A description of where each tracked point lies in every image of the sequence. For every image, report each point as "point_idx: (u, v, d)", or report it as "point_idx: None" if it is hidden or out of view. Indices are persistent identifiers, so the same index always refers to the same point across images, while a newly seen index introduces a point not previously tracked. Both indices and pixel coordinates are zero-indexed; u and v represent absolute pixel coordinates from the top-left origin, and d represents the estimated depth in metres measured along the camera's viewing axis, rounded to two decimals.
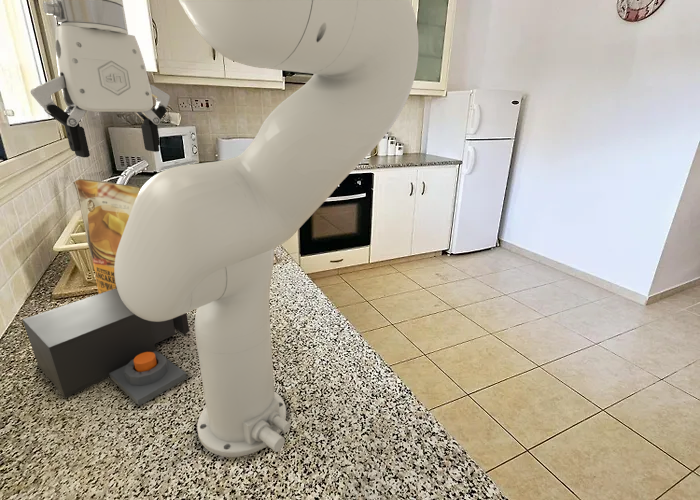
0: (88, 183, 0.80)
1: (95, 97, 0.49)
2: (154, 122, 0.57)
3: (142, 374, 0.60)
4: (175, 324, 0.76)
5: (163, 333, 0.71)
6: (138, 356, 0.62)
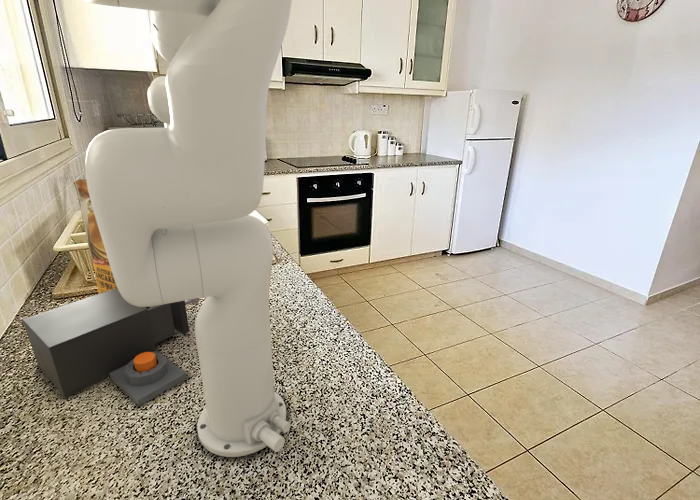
0: None
1: None
2: None
3: (142, 374, 0.60)
4: (175, 324, 0.76)
5: (163, 333, 0.71)
6: (138, 356, 0.62)
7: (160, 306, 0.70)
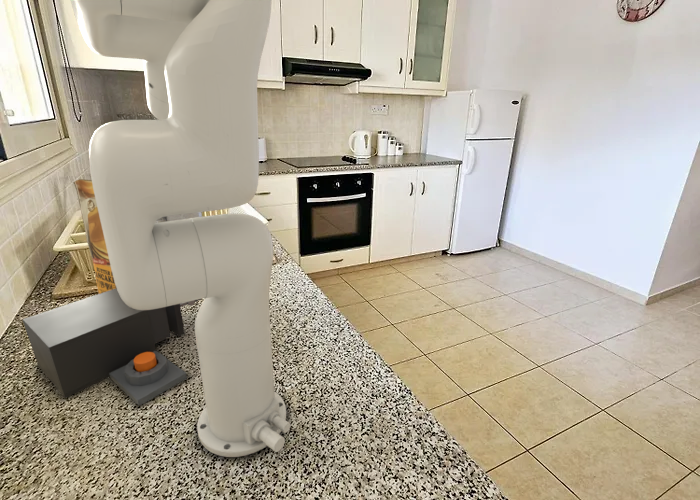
0: (88, 183, 0.80)
1: None
2: None
3: (142, 374, 0.60)
4: (170, 326, 0.75)
5: (158, 335, 0.71)
6: (138, 356, 0.62)
7: None
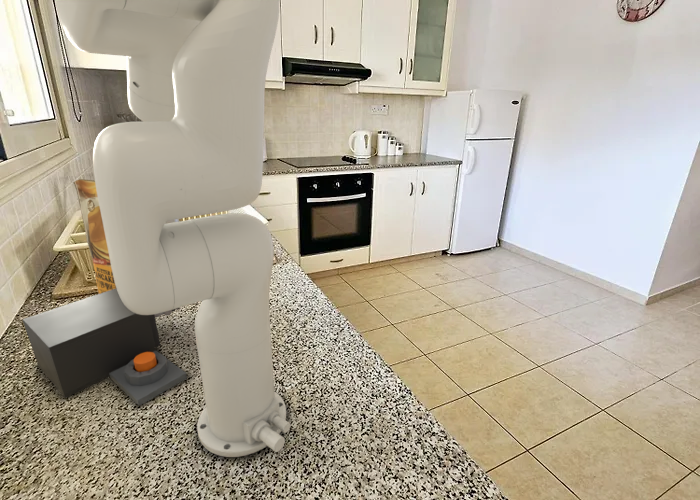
0: (88, 183, 0.80)
1: None
2: None
3: (142, 374, 0.60)
4: None
5: None
6: (138, 356, 0.62)
7: None
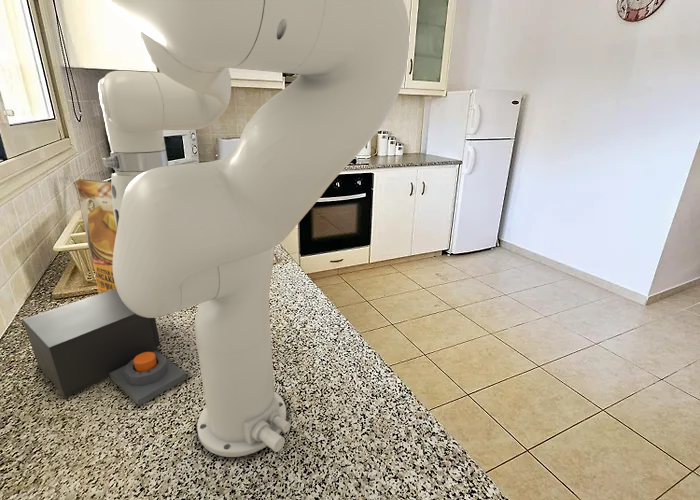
0: (88, 183, 0.80)
1: None
2: None
3: (142, 374, 0.60)
4: None
5: None
6: (138, 356, 0.62)
7: None
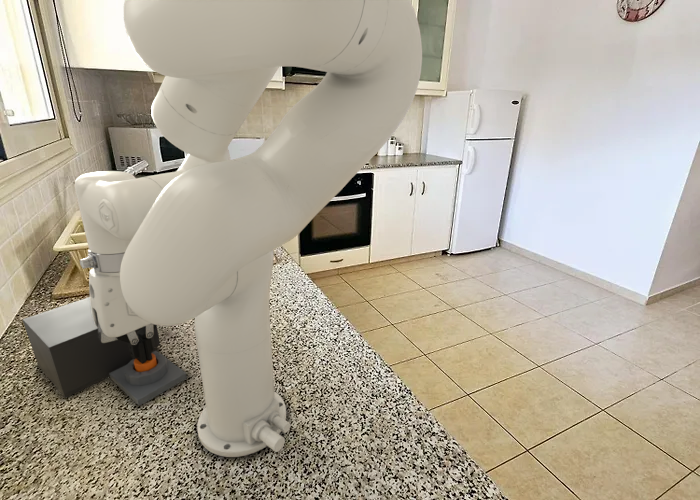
0: None
1: (123, 325, 0.55)
2: (148, 336, 0.60)
3: (142, 374, 0.60)
4: None
5: None
6: None
7: None
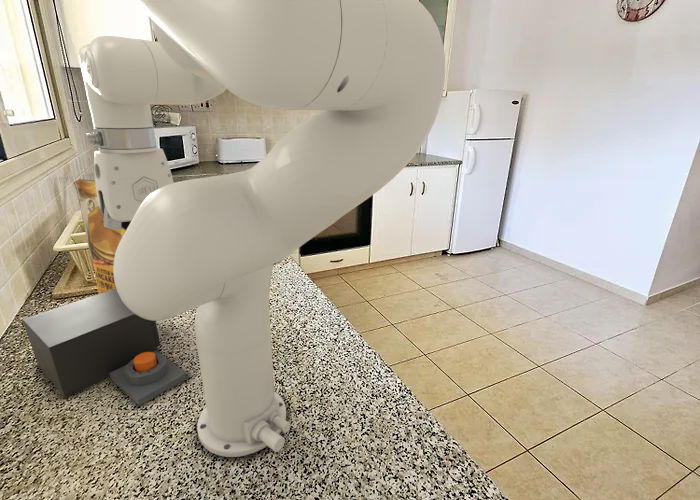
0: (88, 183, 0.80)
1: (129, 210, 0.55)
2: None
3: (142, 374, 0.60)
4: None
5: None
6: (138, 356, 0.62)
7: None
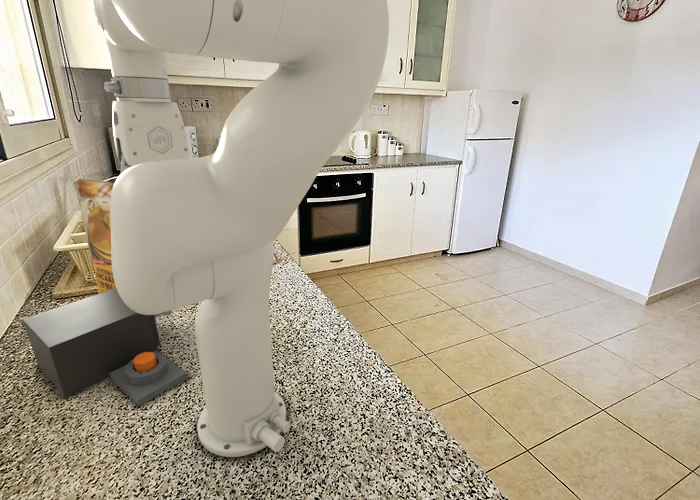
0: (88, 183, 0.80)
1: (145, 157, 0.58)
2: None
3: (142, 374, 0.60)
4: None
5: None
6: (138, 356, 0.62)
7: None
